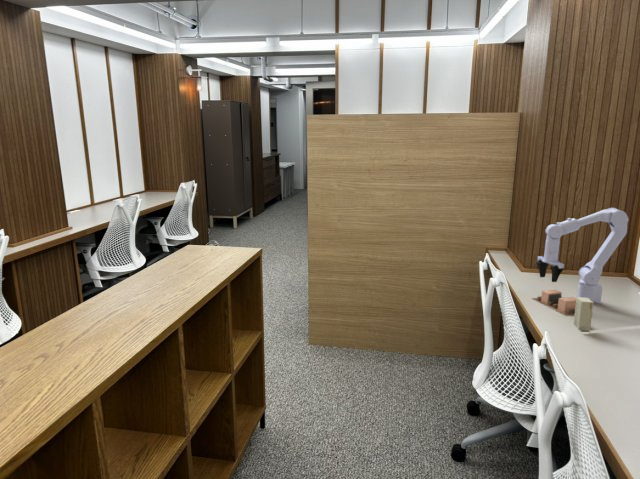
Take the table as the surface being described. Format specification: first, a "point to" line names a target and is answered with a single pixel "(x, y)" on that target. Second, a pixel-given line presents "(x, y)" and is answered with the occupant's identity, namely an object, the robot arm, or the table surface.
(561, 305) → the pink block
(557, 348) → the table surface
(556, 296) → the peach rectangular block
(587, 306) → the skincare box
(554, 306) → the walnut rack
